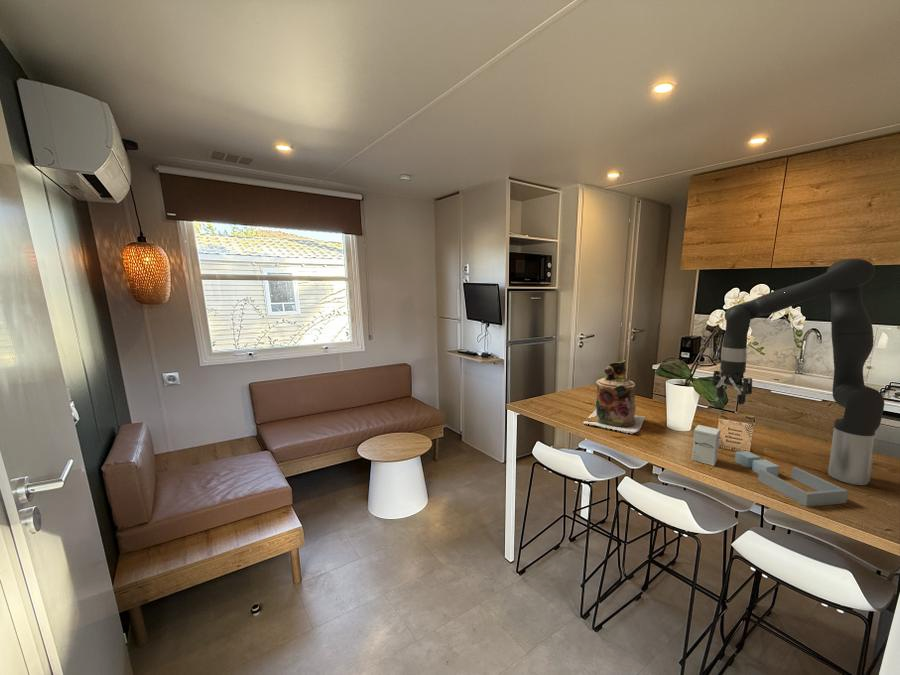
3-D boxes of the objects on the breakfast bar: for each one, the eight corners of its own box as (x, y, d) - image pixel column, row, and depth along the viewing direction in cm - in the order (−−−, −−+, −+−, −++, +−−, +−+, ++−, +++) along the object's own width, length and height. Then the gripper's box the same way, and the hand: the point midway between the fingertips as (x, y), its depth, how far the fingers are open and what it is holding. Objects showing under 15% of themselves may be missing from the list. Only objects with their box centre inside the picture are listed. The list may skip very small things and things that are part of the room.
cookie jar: (595, 411, 196) (597, 353, 192) (646, 420, 181) (649, 358, 177) (581, 425, 176) (583, 361, 172) (636, 436, 161) (640, 367, 157)
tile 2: (764, 469, 131) (765, 459, 130) (778, 476, 126) (779, 466, 125) (752, 470, 130) (753, 460, 130) (765, 477, 125) (766, 467, 125)
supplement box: (690, 460, 138) (693, 429, 137) (695, 454, 144) (697, 423, 142) (714, 466, 133) (717, 434, 132) (718, 460, 138) (720, 428, 137)
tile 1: (746, 460, 138) (747, 451, 137) (759, 467, 133) (760, 456, 132) (734, 461, 137) (735, 451, 136) (747, 468, 132) (748, 457, 132)
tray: (794, 477, 125) (795, 466, 124) (846, 503, 110) (848, 490, 109) (758, 480, 123) (759, 469, 123) (805, 506, 108) (807, 494, 108)
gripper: (760, 362, 129) (756, 405, 131) (725, 355, 143) (722, 394, 145) (742, 363, 128) (738, 407, 130) (708, 356, 142) (705, 396, 144)
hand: (730, 400), depth 137 cm, fingers open, 8 cm apart
